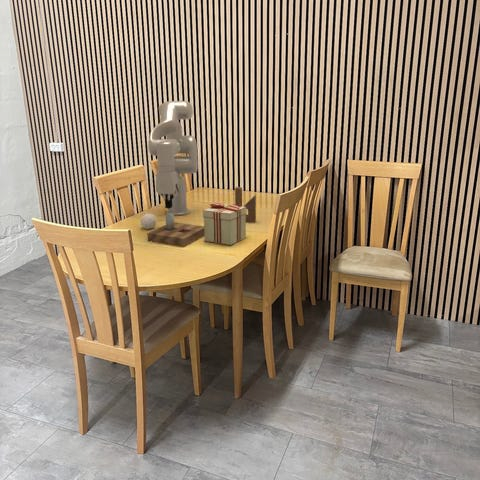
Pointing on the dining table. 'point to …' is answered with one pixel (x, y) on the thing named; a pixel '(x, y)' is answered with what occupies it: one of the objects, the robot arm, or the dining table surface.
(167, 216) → the peg
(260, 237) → the dining table surface
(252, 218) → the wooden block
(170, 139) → the robot arm
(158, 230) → the board
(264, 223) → the dining table surface
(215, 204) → the gift box
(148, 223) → the geometric ball
